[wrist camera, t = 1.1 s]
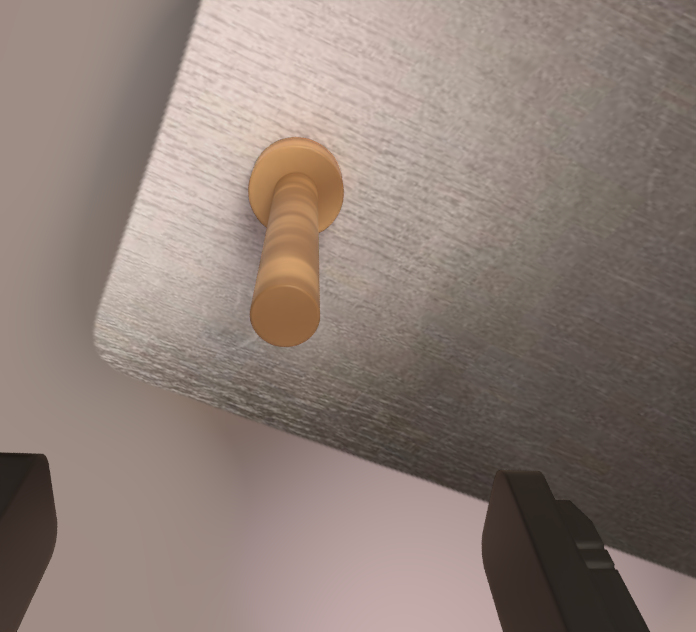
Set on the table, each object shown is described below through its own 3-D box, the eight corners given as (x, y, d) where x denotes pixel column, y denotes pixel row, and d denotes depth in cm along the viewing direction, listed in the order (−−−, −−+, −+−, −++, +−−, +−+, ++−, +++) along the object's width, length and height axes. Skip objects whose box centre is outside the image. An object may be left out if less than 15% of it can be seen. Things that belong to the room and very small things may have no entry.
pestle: (232, 178, 32) (173, 311, 19) (300, 117, 31) (289, 211, 18) (294, 242, 34) (281, 408, 20) (360, 186, 33) (393, 322, 19)
